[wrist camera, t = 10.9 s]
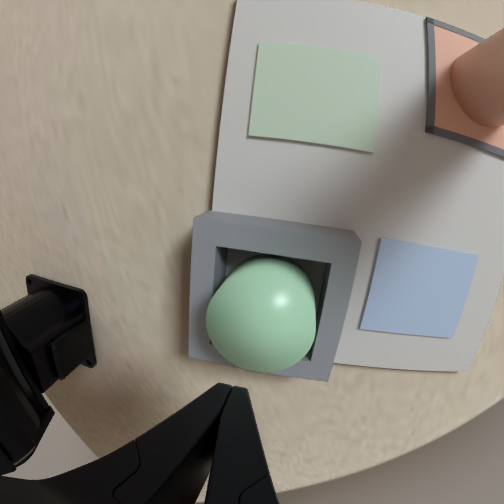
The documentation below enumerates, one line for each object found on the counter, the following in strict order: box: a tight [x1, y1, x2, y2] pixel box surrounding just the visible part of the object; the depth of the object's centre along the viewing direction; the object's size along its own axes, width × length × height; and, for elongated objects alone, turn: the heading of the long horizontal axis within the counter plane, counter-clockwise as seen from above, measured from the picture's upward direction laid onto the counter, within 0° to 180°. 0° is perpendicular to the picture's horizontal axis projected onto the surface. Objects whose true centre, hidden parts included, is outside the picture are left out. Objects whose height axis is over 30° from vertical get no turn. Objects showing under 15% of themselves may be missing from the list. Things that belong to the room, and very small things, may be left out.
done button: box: [206, 254, 316, 373], centre depth 14 cm, size 4×4×3 cm
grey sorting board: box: [188, 0, 504, 382], centre depth 13 cm, size 17×20×3 cm
